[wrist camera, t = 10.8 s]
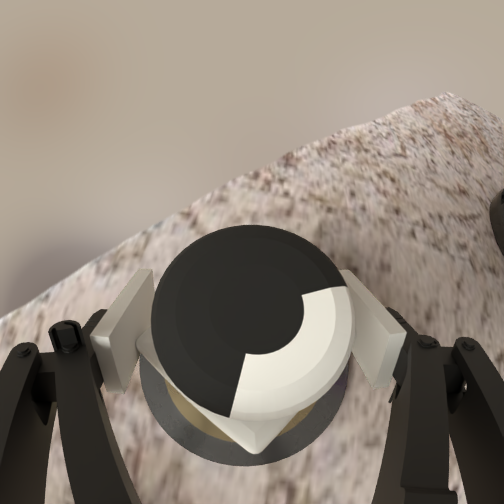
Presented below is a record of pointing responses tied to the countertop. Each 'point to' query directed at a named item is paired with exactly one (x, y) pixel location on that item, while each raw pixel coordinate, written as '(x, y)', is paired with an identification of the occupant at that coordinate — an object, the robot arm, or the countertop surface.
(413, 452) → the robot arm
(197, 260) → the medicine bottle
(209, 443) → the plate
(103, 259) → the countertop surface
